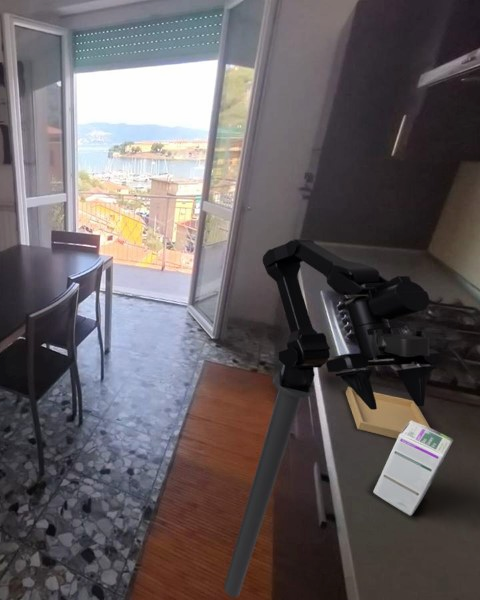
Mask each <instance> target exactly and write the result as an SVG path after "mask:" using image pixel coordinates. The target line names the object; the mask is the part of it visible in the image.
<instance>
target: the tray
mask: <svg viewBox="0 0 480 600" xmlns="http://www.w3.org/2000/svg"><path fill="white" fill-rule="evenodd" d="M373 393H374V397H375V400H376V406H377V409H375V410H371V409H370V408H369V407H368V406H367V405H366V404H365V403H364V401H363V400H362V399H361V398H360V397H359V396H358V395H357V393H356V392H355V391H354V390H353V389H352V388H351V387H350V386H347V388H346V390H345V395H346V398H347V399H346V400H347V401H348V404H349V408H350V410H351V411H350V412H352V417H353V419H354V423H355V425H356V429H357V430H360V431H364V432H368V433H371V434H372V433H373V434H377V435H381V436H385V437H387V438H388V437H389V438H392V439H395V440H397V439H398V436H399V434H400V433H401V432H402V430H403V429H404V428H405V426H406V425H407V424H408V423H409V422H410V421H411V420H412V421H414V422H416V423H419V424H422V425H424V426H426V427H429V428H431V427H430V425H429V422H428V421H427V419H426V418H425V416H424V415H423V413H422V411H421V410H420V408H419V406H417V405H416V404H415V402H414V401H413V400H411V399H407V398H403V397H399V396H393V395H388V394H383V393H379V392H375V391H373Z"/></svg>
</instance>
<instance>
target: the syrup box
mask: <svg viewBox="0 0 480 600" xmlns="http://www.w3.org/2000/svg"><path fill="white" fill-rule="evenodd" d="M429 427H430V426H429ZM429 427H426V426H424V425H422V424H419V423H416V422H414V421H412V420H411V421H410V422H409V423H408V424H407V425H406V426H405V428H404V429H403V430H402V432H401V433H400V434H399V436H398V439H396V441H395V443H394V445H393V447H392V449H391V452H390V454H389V455H388V458H387V460H386V462H385V464H384V466H383V469H382V471H381V473H380V476H379V477H378V480H377V482H376V484H375V487H374V489H373V491H372V492H373V494H374V495H376V496H377V497H379V498H380V499H382V500H384V501H385V502H387V503H389V504H390V505H391V506H393V507H395V508H397V509H398V510H399V511H401V512H403V513H405V515H408V516H410V517H412V516H413V514H414V513H415V512H416V510H417V509H418V507H419V506H420V504H421V502H422V501H423V499H424V497H425V495H426V493H427V492H428V490H429V488H430V486H431V485H432V483H433V481H434V479H435V478H436V476H437V474H438V472H439V470H440V468H441V465H442V464H443V462H444V459H445V458H446V455H447V453H448V452H449V450H450V448H451V446H452V444H453V442H454V439H453V438H451V437H450V436H447V435H446V434H443V433H442V432H440V431H438V430H436V429H434V428H431V427H430V428H429Z"/></svg>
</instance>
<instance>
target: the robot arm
mask: <svg viewBox="0 0 480 600" xmlns="http://www.w3.org/2000/svg"><path fill="white" fill-rule="evenodd" d="M303 262H304V263H305V264H307V265H308V266H310V268H313V269H314V270H316V271H317V272H318V273H320V274H322V275H323V276H324V277H325V278H326V283H327V285H328V286H329V287H330V288H331V289H332V290H333V291H334V292H335V293H336V294H337V295H339V296H355V295H359V296H357V297H344V298H343V299H342V301H341V303H340V304H339V305H338V307H337V310H338V311H340V312H341V311H346V312H347V314H348V318H349V322H350V324H351V327H352V331H353V333H351V334H349V338H350V340H352V341H353V340H356V343H357V347H358V350H359V353H358V352H357V353H345V354H339V355H336V356H331V352H330V350H331V347H330V346H329V343H328V339H327V336H326V334H325V332H317V330H316V329H314V327H313V324H312V321H311V318H310V313H309V311H308V308H307V304H306V302H305V298H304V293H303V292H302V288H301V286H300V281H299V278H298V276H299V273H300V269H301V267H302V264H301V263H303ZM262 264H263V266H264V268H265V271H266V274H267V275H268V276H269V277H270V278H271V279H273V280H274V281H275V282H276V285H277V289H278V291H279V296H280V299H281V304H282V307H283V310H284V313H285V317H286V321H287V325H288V328H289V331H290V332H289V336H288V339H287V342H286V349H283V350H281V351H279V352H278V360H279V362H281V363H282V364H283V365H282V369H281V371H279V372H280V373H279V372H278V373H279V375H280V386H282V387H285V388H289V389H294V390H298V391H303V392H307V393H308V392H309V387H311V385H312V384H313V381H314V378H315V376H316V374H315V368H318V369H320V368H322V367H323V366H324V365H325V366H326V369H327V373H335V375H334V376H335V377H337V378H340V379H341V380H342V381H344V382H345V383H346V384H347V385H348V387H351V388H352V389H353V390H354V391H355V392H356V393H357V395H358V396H359V397H360V398H361V399H362V400H363V401H364V403H365V404H366V405H367V406H368V407H369V408H370V409H371V410H375V409H377V406H376V400H375V397H374V393H373V392H374V390H373V386H372V383H371V376H372V373H373V369H366V368H368V367H369V368H370V367H387V366H396V367H398V368H400V369H397V370H396V373H397V375H398V376H399V379H400V381H401V382H402V384H403V386H404V387H405V390H406V391H407V393H408V394H409V396H410V397H411V399H412V401H414V402H415V404H416V405H417V406H418V407H424V406H425V399H426V388H427V380H428V377H429V375H430V374H431V373H432V372H433V371H434V370H436V369H438V367H439V366H438V365H440V364H444V361H443V359H442V356H441V353H440V352H439V351H437V350H435V348H437V346H438V345H437V344H438V343H437V339H436V337H435V335H434V333H433V331H432V330H428V329H427V330H425V329H419V330H414V331H413V333H412V334H401V332H400V329H399V328H398V327H397V326H390V322H389V321H391V320H396V319H398V318H402V317H405V316H409V315H412V314H416V313H418V312H422V311H424V310H426V309H427V308H428V307H429V305H430V296H429V293H428V292H427V291H426V290H425V289H424V288H423V287H422V286H421V285H420V284H418V283H416V282H414V281H412V279H411V277H410V275H396V276H395V277H393V278H391V279H390V280H388V279H387V278H385V277H384V276H382V275H381V274H380V272H379V270H378V269H376V268H375V267H374V266H370V265H368V264H364V263H360V262H355V261H349V260H346V259H343V258H341V257H340V256H339V255H336V254H334V253H333V252H331V251H330V250H328V249H326V248H324V247H322V246H321V245H319V244H317V243H315V241H314V239H313V240H312V239H310V238H294V239H291V240H289V241H288V242H287V243H284V244H281V245H279V246H276V247H273V248H272V249H271V248H270V249H268V250H267V251H265V253H264V254H263V256H262Z"/></svg>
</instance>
